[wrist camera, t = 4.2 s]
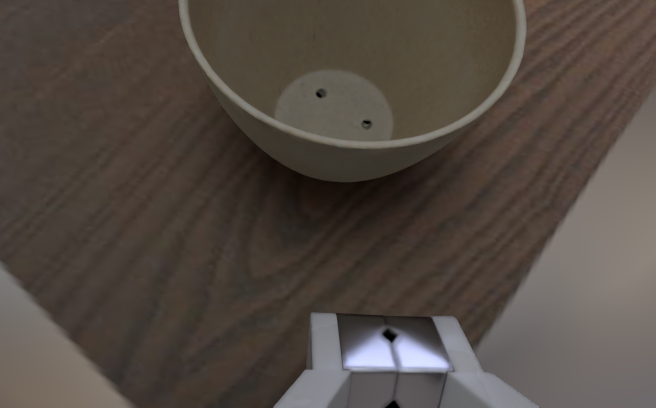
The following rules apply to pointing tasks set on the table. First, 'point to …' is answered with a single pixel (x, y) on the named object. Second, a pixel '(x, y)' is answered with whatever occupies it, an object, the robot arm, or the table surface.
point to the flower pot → (355, 75)
